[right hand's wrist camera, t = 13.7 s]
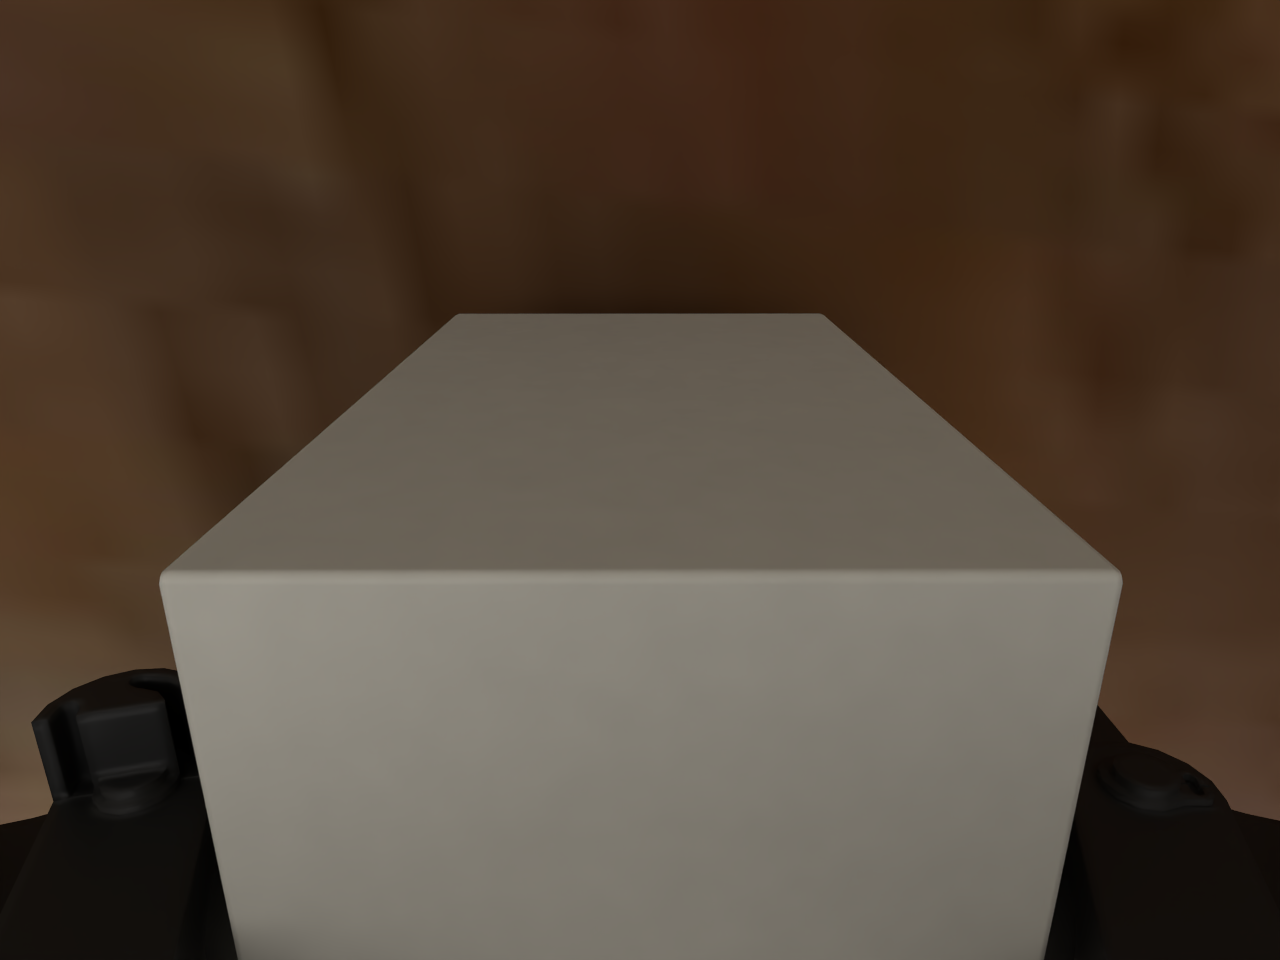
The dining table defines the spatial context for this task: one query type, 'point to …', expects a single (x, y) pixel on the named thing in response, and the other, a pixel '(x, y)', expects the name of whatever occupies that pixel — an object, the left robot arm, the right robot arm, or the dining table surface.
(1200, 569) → the dining table surface
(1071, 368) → the dining table surface
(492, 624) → the bar
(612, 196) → the dining table surface
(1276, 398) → the dining table surface
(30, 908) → the right robot arm
